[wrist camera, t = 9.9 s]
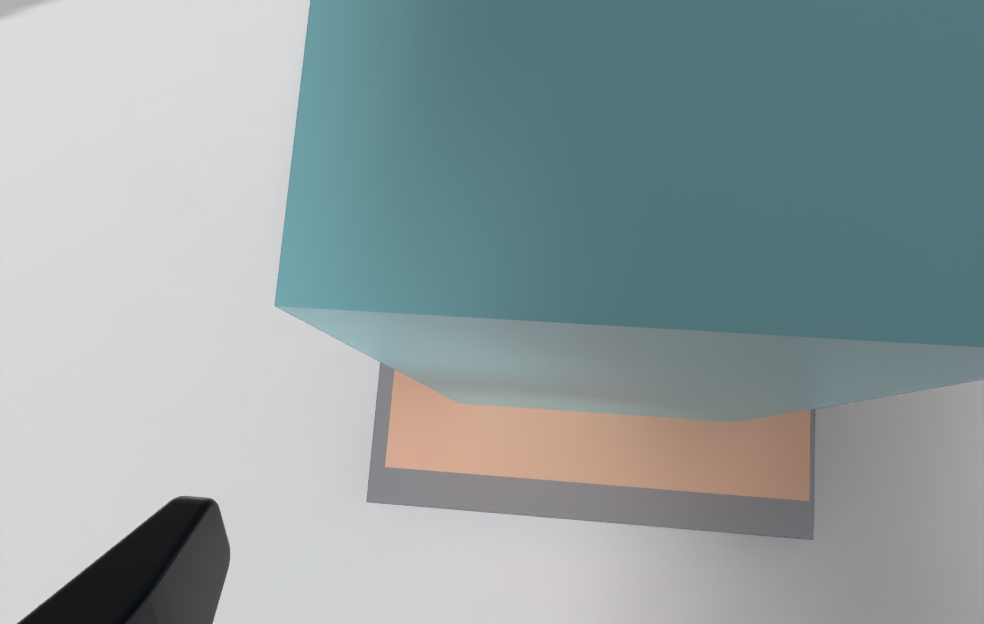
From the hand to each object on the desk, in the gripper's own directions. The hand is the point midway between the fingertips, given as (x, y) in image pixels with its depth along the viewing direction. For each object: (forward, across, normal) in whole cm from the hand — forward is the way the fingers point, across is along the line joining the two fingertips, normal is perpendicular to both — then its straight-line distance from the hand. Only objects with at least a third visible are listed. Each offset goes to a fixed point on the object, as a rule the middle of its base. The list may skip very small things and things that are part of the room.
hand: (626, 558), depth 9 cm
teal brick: (+10, 0, +3) cm, 10 cm away
